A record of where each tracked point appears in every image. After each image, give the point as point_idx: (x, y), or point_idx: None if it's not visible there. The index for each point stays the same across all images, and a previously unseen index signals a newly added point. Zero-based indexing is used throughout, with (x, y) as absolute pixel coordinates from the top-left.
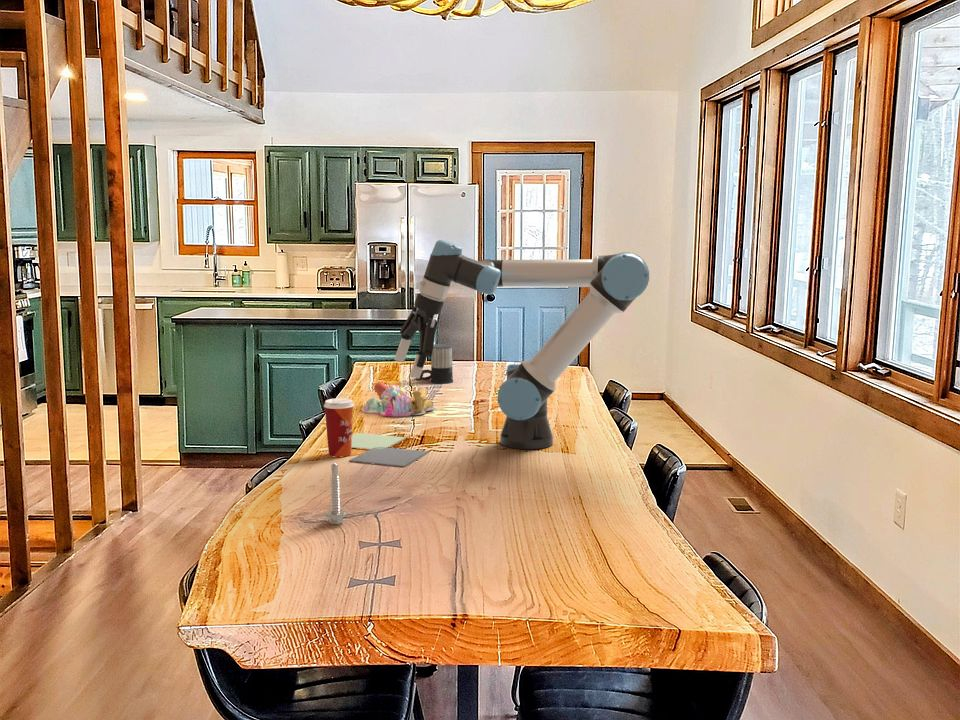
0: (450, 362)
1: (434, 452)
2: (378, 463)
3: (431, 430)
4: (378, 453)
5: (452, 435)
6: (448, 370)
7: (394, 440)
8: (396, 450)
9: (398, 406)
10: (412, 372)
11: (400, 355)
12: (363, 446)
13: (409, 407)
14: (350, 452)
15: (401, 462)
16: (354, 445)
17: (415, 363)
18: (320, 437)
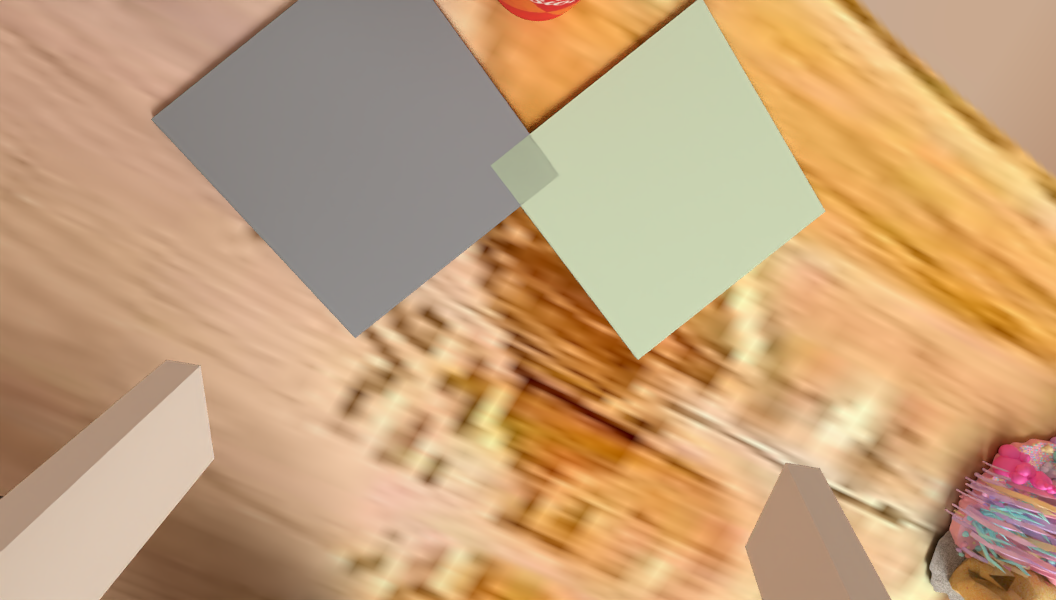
0: None
1: (353, 362)
2: (258, 33)
3: (699, 506)
4: (434, 123)
5: (580, 543)
6: None
7: (614, 295)
8: (445, 222)
9: (1027, 519)
10: (125, 402)
11: (794, 565)
12: (592, 123)
13: (992, 553)
14: (501, 1)
15: (220, 138)
16: (631, 95)
17: (6, 504)
18: (869, 41)
